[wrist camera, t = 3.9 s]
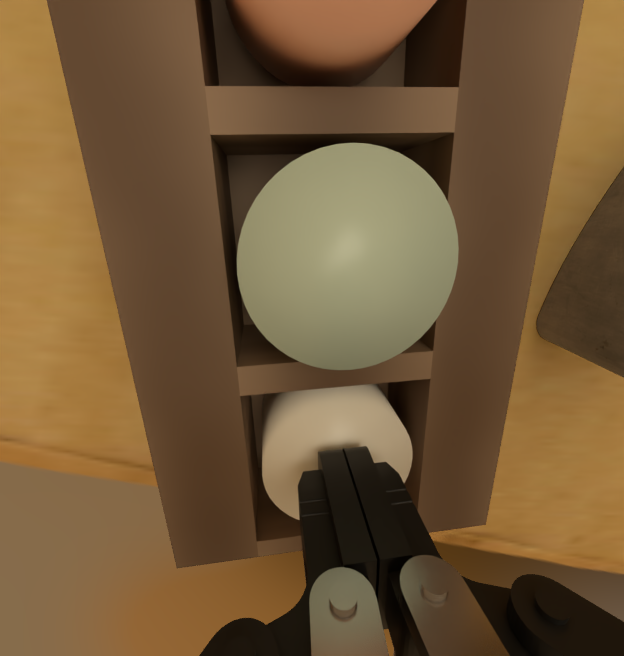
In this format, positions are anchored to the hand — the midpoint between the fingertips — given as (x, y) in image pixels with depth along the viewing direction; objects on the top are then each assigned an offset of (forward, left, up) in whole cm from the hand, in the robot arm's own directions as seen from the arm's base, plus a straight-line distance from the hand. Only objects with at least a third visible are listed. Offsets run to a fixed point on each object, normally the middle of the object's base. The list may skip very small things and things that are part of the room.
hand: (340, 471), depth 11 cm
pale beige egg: (0, 0, -4) cm, 4 cm away
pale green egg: (0, -6, -2) cm, 7 cm away
